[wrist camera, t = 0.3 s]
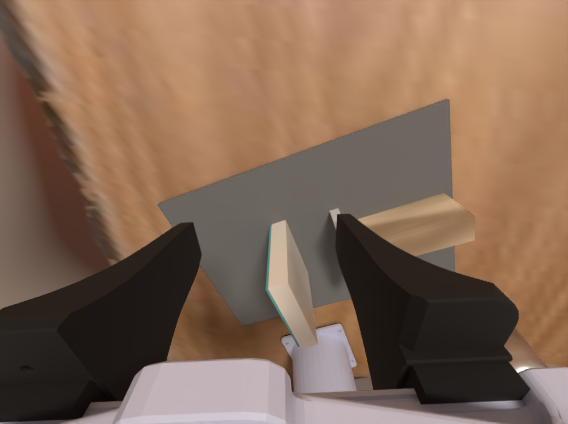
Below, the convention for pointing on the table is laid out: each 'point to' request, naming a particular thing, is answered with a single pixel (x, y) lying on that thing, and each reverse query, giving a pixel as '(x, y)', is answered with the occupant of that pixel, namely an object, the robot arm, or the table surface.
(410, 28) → the table surface
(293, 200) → the mat
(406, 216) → the tan upright post
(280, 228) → the tile
